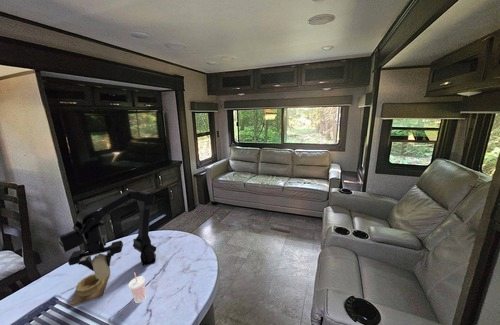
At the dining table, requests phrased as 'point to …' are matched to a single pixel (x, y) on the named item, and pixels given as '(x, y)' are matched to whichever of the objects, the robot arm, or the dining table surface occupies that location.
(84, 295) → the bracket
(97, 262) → the candle
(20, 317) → the dining table surface
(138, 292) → the beverage cup
